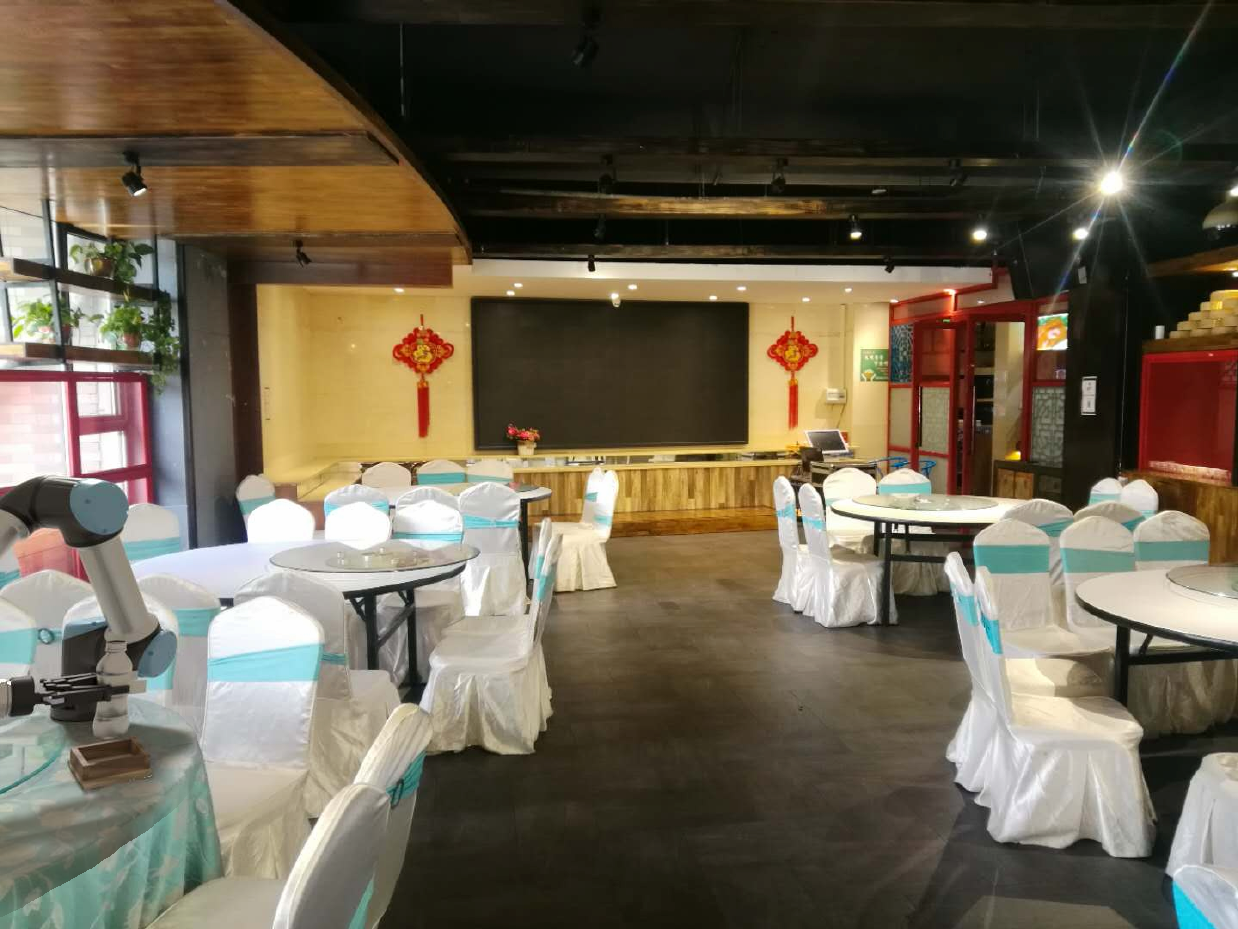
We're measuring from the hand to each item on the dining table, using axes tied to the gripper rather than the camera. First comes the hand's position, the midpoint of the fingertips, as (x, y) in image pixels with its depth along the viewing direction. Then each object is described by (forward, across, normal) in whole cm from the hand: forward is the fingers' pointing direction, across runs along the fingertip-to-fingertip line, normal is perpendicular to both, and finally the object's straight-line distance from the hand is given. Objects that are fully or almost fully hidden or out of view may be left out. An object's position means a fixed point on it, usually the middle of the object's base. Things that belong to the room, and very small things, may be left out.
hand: (141, 681), depth 177 cm
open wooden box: (-5, 0, -18) cm, 19 cm away
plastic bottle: (-5, 0, -11) cm, 12 cm away
